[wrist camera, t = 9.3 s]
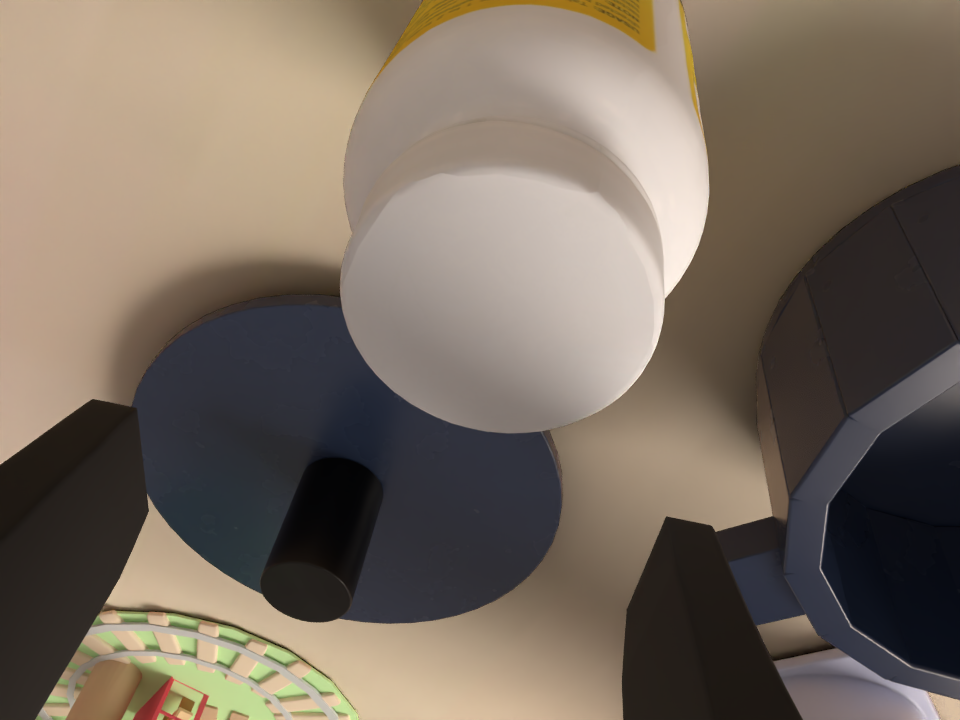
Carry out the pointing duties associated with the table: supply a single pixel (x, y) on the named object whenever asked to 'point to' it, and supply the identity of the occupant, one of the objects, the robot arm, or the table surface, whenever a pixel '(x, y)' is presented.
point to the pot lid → (334, 473)
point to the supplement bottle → (523, 205)
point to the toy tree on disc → (187, 675)
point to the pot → (866, 444)
